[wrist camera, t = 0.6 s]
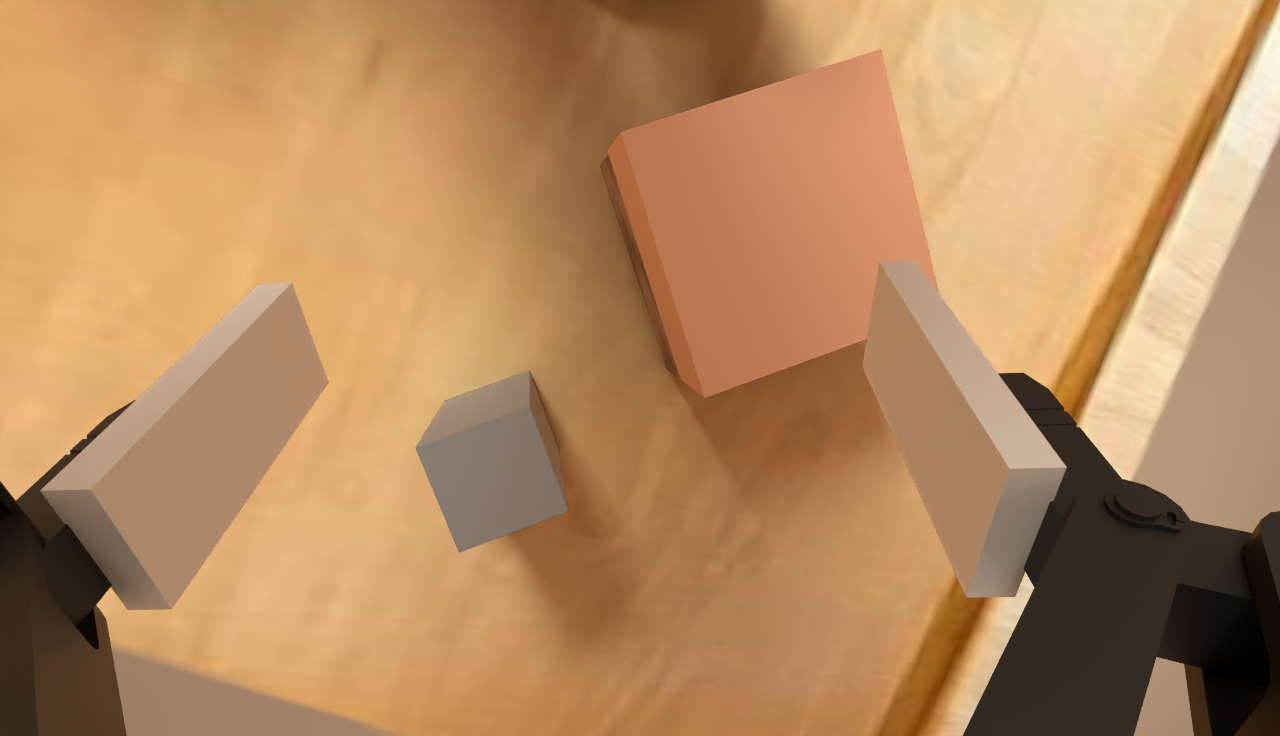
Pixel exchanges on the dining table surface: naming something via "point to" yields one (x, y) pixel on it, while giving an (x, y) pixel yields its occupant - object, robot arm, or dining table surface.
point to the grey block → (493, 462)
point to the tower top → (771, 219)
